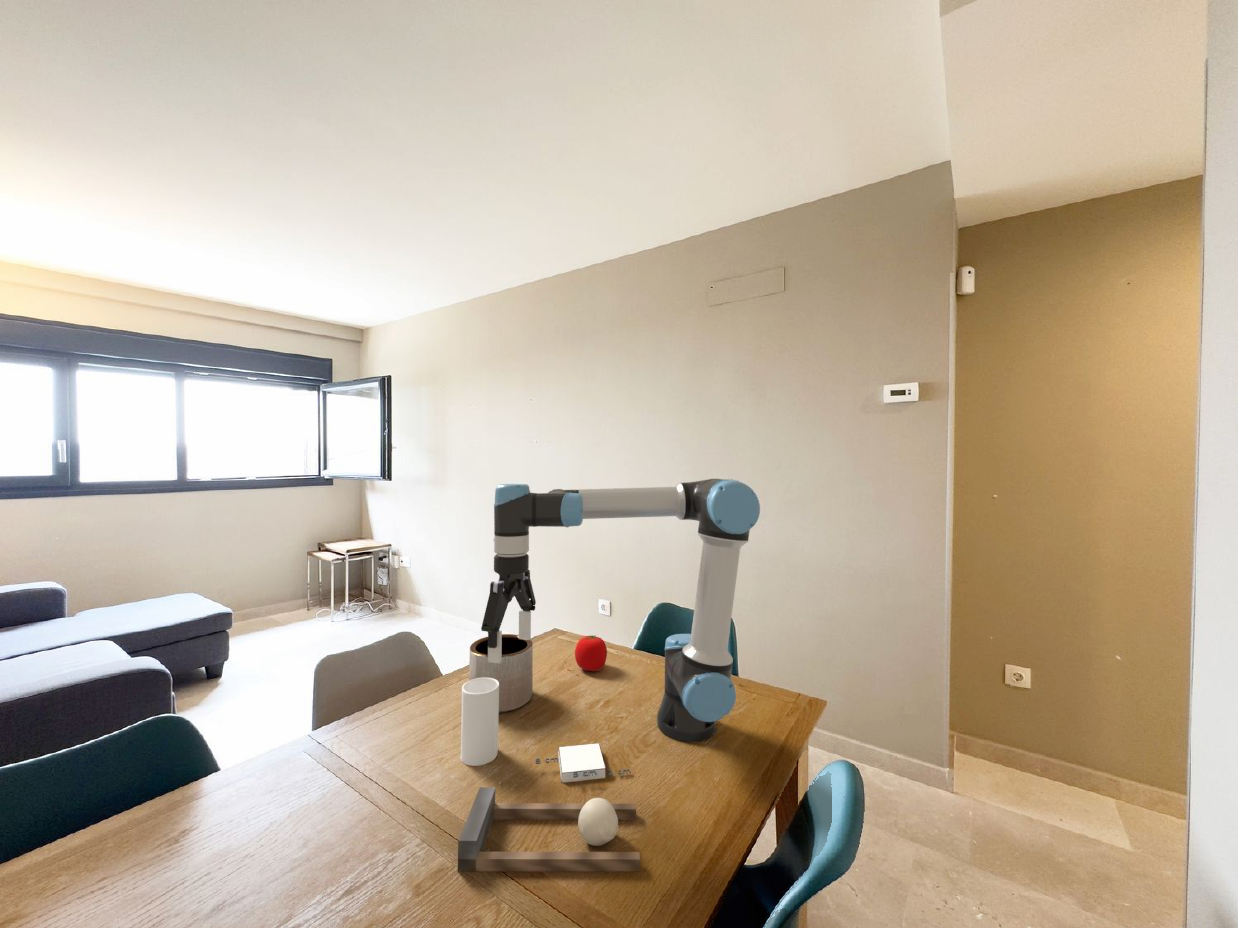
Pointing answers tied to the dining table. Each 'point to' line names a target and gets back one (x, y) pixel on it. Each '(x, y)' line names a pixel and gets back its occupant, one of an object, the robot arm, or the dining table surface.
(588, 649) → the tomato
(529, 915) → the dining table surface
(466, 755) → the cup
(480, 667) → the planter
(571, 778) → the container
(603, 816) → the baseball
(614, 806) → the channel
